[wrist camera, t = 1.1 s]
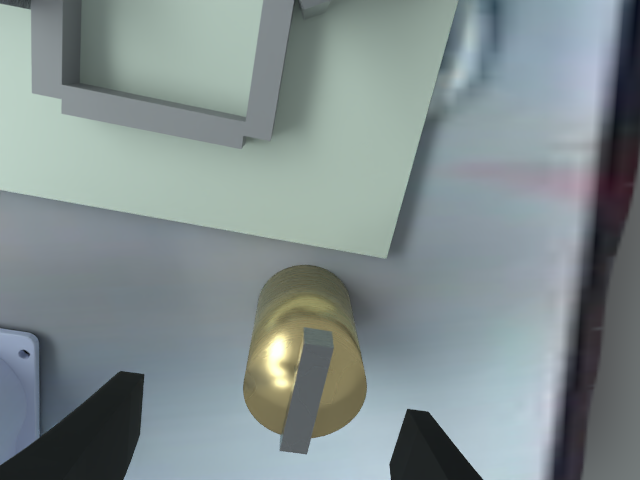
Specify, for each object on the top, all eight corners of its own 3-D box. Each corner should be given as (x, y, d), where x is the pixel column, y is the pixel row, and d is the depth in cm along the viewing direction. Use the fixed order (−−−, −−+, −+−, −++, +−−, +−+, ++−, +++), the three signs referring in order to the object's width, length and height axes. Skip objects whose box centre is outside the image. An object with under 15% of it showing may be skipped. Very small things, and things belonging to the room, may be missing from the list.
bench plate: (383, 251, 21) (392, 272, 19) (-86, 167, 19) (-133, 180, 17) (482, -108, 16) (507, -132, 14) (-130, -275, 14) (-203, -331, 12)
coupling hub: (338, 354, 23) (352, 460, 17) (251, 340, 23) (232, 444, 17) (360, 272, 22) (383, 355, 15) (266, 255, 21) (252, 335, 15)
